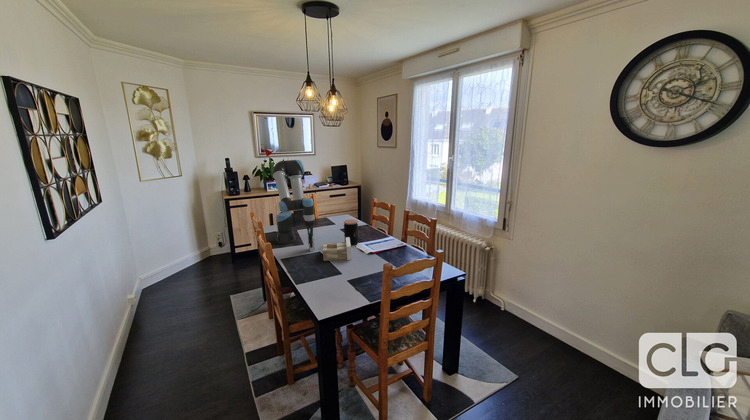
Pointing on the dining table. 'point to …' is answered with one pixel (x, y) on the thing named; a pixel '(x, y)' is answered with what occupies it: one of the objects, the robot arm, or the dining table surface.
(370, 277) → the dining table surface
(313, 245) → the dowel
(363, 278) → the dining table surface
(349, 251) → the wall
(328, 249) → the socket block
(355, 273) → the dining table surface
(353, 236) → the coffee jar
